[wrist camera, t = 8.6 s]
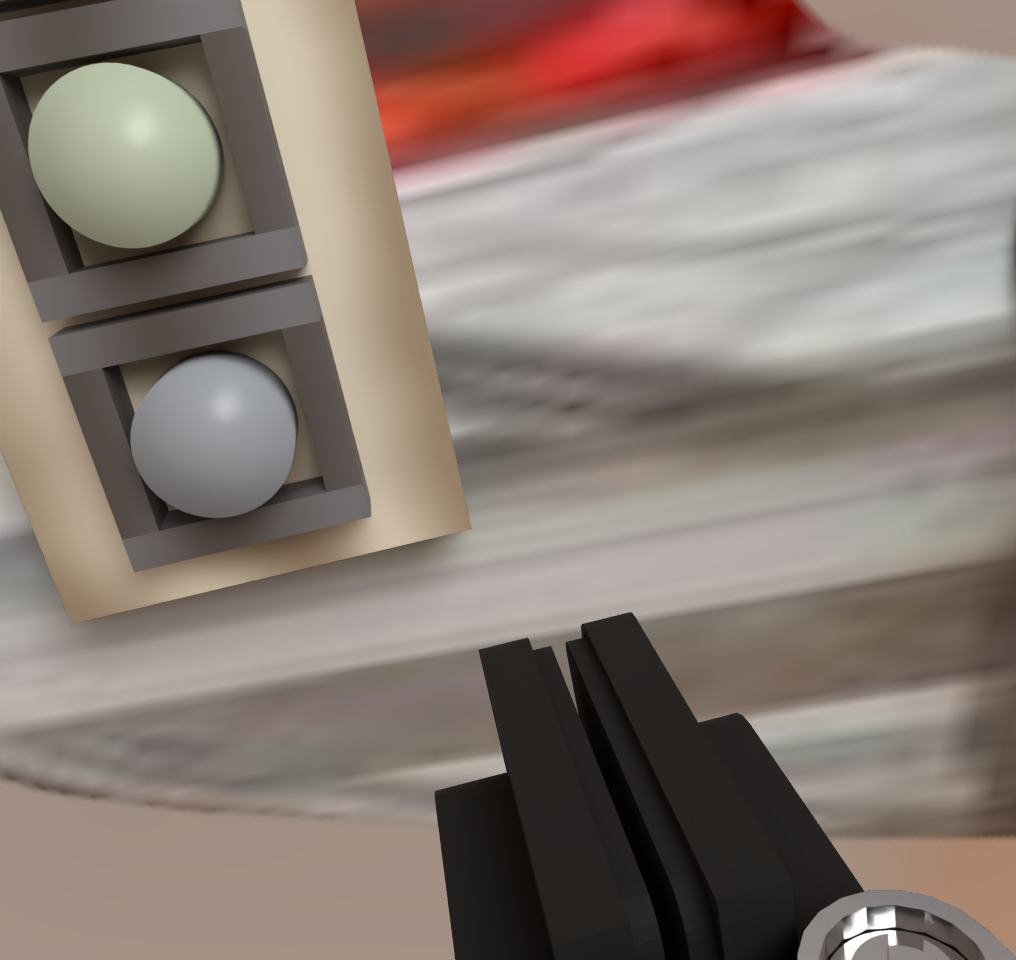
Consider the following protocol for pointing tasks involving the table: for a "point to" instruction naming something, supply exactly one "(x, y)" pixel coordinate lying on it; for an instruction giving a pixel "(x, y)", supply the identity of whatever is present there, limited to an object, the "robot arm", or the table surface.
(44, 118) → the button sage
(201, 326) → the button board
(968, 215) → the table surface
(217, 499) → the button slate
